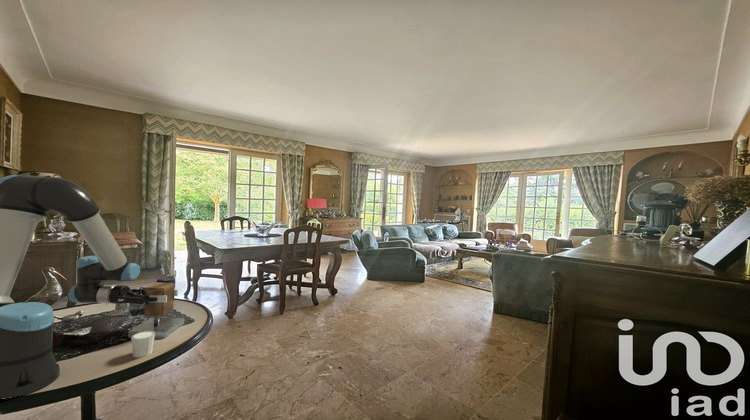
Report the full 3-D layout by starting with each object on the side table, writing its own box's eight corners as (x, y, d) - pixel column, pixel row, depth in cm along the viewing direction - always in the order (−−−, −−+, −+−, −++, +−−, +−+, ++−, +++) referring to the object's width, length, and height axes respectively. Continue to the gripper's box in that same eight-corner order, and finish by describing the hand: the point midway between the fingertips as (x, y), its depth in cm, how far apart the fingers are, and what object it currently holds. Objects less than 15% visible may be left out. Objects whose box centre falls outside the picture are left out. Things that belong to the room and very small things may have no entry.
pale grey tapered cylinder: (144, 359, 104) (145, 339, 104) (125, 357, 105) (126, 338, 104) (158, 349, 111) (159, 331, 111) (141, 348, 111) (141, 330, 111)
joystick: (128, 337, 118) (129, 314, 118) (151, 323, 132) (151, 302, 132) (165, 338, 120) (166, 315, 120) (184, 323, 134) (184, 303, 134)
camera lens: (164, 311, 146) (165, 281, 146) (150, 309, 148) (152, 279, 147) (178, 305, 154) (179, 277, 153) (165, 303, 156) (166, 275, 155)
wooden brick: (144, 315, 122) (145, 287, 122) (155, 309, 130) (156, 282, 129) (163, 316, 123) (164, 288, 123) (173, 309, 131) (174, 282, 130)
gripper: (131, 295, 135) (184, 296, 137) (94, 312, 114) (156, 313, 117) (132, 278, 134) (185, 280, 137) (94, 293, 114) (157, 295, 116)
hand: (172, 295), depth 127 cm, fingers closed on wooden brick, 7 cm apart
